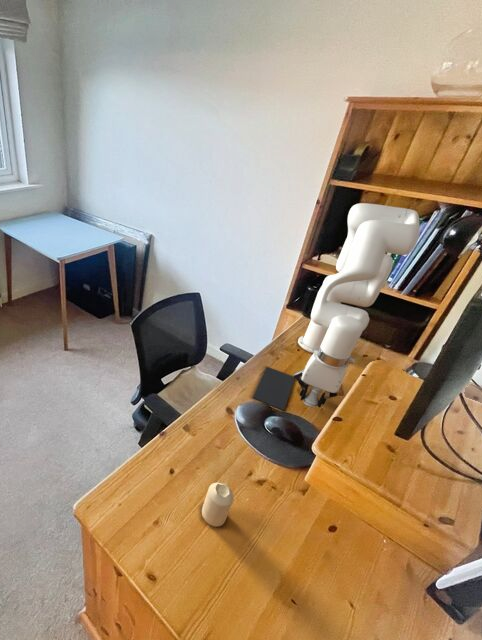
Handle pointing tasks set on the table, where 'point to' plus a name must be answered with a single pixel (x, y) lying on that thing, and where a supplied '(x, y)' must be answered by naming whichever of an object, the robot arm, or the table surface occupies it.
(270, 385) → the felt mat
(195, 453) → the table surface
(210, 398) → the table surface
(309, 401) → the rook chess piece
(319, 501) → the table surface
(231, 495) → the candle
